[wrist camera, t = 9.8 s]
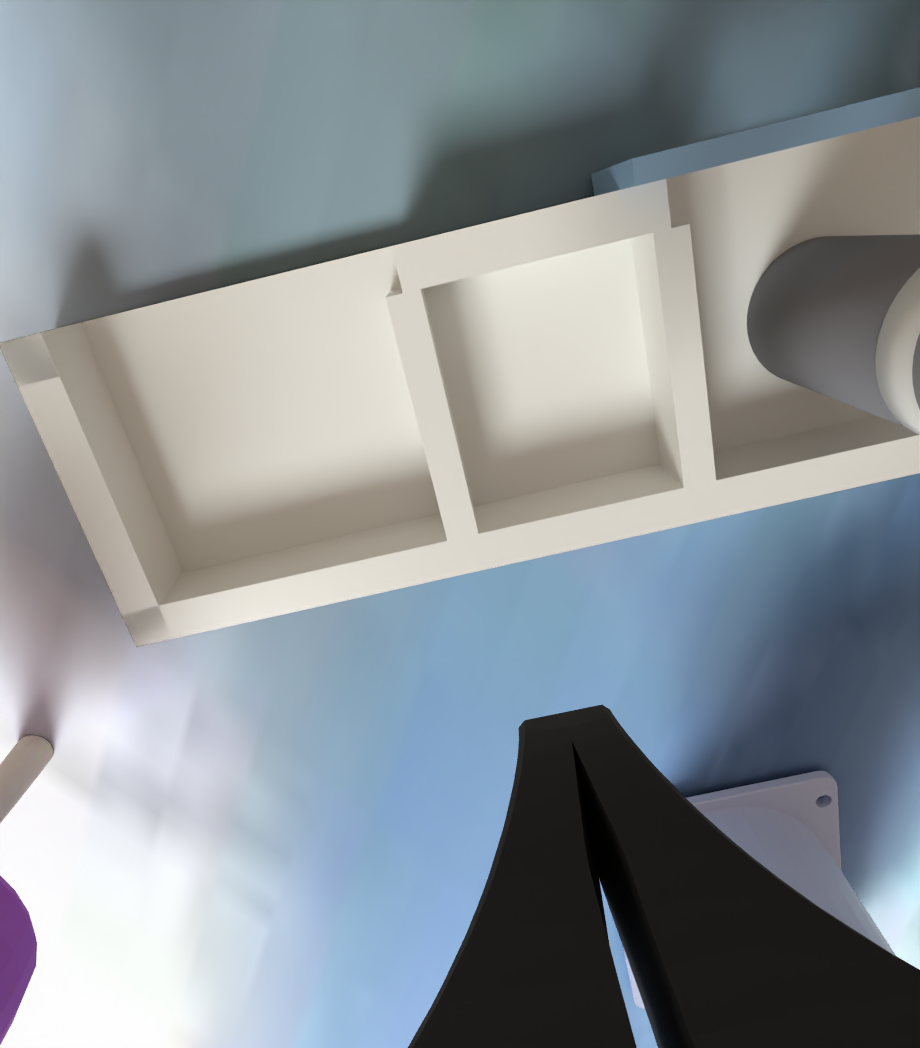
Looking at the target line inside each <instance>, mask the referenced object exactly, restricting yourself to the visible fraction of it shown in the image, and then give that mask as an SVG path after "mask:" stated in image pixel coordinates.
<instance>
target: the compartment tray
mask: <svg viewBox="0 0 920 1048" xmlns="http://www.w3.org/2000/svg"><path fill="white" fill-rule="evenodd" d="M591 177H592V184H593V190H594V196H593V197H589V198H585V199H581V200H576V201H572V202H568V203H564V204H560V205H556V206H552V207H548V208H544V209H540V210H536V211H532V212H528V213H524V214H520V215H516V216H511V217H507V218H503V219H499V220H495V221H491V222H487V223H483V224H479V225H475V226H471V227H467V228H463V229H459V230H455V231H450V232H446V233H442V234H438V235H434V236H430V237H426V238H422V239H418V240H414V241H410V242H406V243H402V244H398V245H394V246H390V247H385V248H381V249H377V250H373V251H369V252H365V253H361V254H357V255H353V256H349V257H345V258H341V259H337V260H333V261H329V262H324V263H320V264H316V265H312V266H308V267H304V268H300V269H296V270H292V271H288V272H284V273H280V274H276V275H272V276H268V277H264V278H259V279H255V280H251V281H247V282H243V283H239V284H235V285H231V286H227V287H223V288H219V289H215V290H211V291H207V292H203V293H198V294H194V295H190V296H186V297H182V298H178V299H174V300H170V301H166V302H162V303H158V304H154V305H150V306H146V307H142V308H138V309H133V310H129V311H125V312H121V313H117V314H113V315H109V316H105V317H101V318H97V319H93V320H89V321H85V322H81V323H77V324H72V325H68V326H64V327H60V328H56V329H52V330H48V331H44V332H40V333H36V334H32V335H28V336H24V337H20V338H16V339H12V340H8V341H4V342H0V349H1V351H2V353H3V355H4V357H5V360H6V362H7V364H8V366H9V368H10V371H11V373H12V375H13V377H14V379H15V382H16V384H17V386H18V388H19V390H20V393H21V395H22V397H23V399H24V401H25V404H26V406H27V408H28V410H29V412H30V415H31V417H32V419H33V421H34V423H35V426H36V428H37V430H38V432H39V434H40V437H41V439H42V441H43V443H44V445H45V448H46V450H47V452H48V454H49V456H50V459H51V461H52V463H53V465H54V467H55V470H56V472H57V474H58V476H59V478H60V481H61V483H62V485H63V487H64V489H65V492H66V494H67V496H68V498H69V500H70V503H71V505H72V507H73V509H74V511H75V514H76V516H77V518H78V520H79V522H80V525H81V527H82V529H83V531H84V533H85V536H86V538H87V540H88V542H89V544H90V547H91V549H92V551H93V553H94V555H95V558H96V560H97V562H98V564H99V566H100V569H101V571H102V573H103V575H104V577H105V579H106V582H107V584H108V586H109V588H110V590H111V593H112V595H113V597H114V599H115V601H116V604H117V606H118V608H119V610H120V612H121V615H122V617H123V619H124V621H125V623H126V626H127V628H128V630H129V632H130V634H131V637H132V639H133V641H134V643H135V645H136V647H138V646H143V645H147V644H152V643H156V642H161V641H165V640H170V639H174V638H179V637H183V636H188V635H192V634H197V633H201V632H206V631H210V630H215V629H219V628H224V627H228V626H233V625H237V624H242V623H246V622H251V621H255V620H260V619H264V618H269V617H273V616H278V615H282V614H287V613H291V612H296V611H300V610H305V609H309V608H314V607H318V606H323V605H327V604H332V603H336V602H341V601H345V600H350V599H354V598H359V597H363V596H368V595H373V594H377V593H382V592H386V591H391V590H395V589H400V588H404V587H409V586H413V585H418V584H422V583H427V582H431V581H436V580H440V579H445V578H449V577H454V576H458V575H463V574H467V573H472V572H476V571H481V570H485V569H490V568H494V567H499V566H503V565H508V564H512V563H517V562H521V561H526V560H530V559H535V558H539V557H544V556H548V555H553V554H557V553H562V552H566V551H571V550H575V549H580V548H584V547H589V546H593V545H598V544H602V543H607V542H611V541H616V540H620V539H625V538H629V537H634V536H638V535H643V534H647V533H652V532H656V531H661V530H665V529H670V528H674V527H679V526H683V525H688V524H692V523H697V522H701V521H706V520H710V519H715V518H719V517H724V516H728V515H733V514H737V513H742V512H746V511H751V510H755V509H760V508H764V507H769V506H773V505H778V504H782V503H787V502H791V501H796V500H801V499H805V498H810V497H814V496H819V495H823V494H828V493H832V492H837V491H841V490H846V489H850V488H855V487H859V486H864V485H868V484H873V483H877V482H882V481H886V480H891V479H895V478H900V477H904V476H909V475H913V474H918V473H920V435H918V434H916V433H914V432H912V431H911V430H909V429H908V428H906V427H905V426H902V425H899V424H897V423H894V422H892V421H889V420H887V419H884V418H881V417H879V416H876V415H874V414H871V413H869V412H866V411H863V410H861V409H858V408H856V407H853V406H850V405H848V404H845V403H843V402H840V401H838V400H835V399H832V398H830V397H827V396H825V395H822V394H819V393H817V392H814V391H812V390H809V389H807V388H804V387H801V386H799V385H796V384H794V383H791V382H788V381H786V380H783V379H781V378H779V377H777V376H775V375H774V374H772V373H770V372H769V371H768V370H767V369H766V368H765V367H763V365H762V364H761V363H760V362H759V361H758V359H757V358H756V356H755V354H754V353H753V350H752V348H751V345H750V342H749V338H748V333H747V313H748V306H749V303H750V299H751V296H752V293H753V291H754V288H755V286H756V284H757V283H758V281H759V279H760V277H761V276H762V274H763V273H764V272H765V270H766V269H767V268H768V267H769V265H770V264H771V263H772V262H773V261H774V260H775V259H776V258H777V257H779V256H780V255H781V254H782V253H784V252H785V251H786V250H788V249H789V248H791V247H793V246H795V245H796V244H798V243H801V242H803V241H806V240H809V239H813V238H816V237H823V236H863V235H915V234H920V87H918V88H914V89H910V90H906V91H902V92H898V93H894V94H890V95H886V96H882V97H878V98H874V99H870V100H866V101H862V102H858V103H854V104H850V105H846V106H842V107H838V108H834V109H830V110H826V111H822V112H818V113H814V114H810V115H806V116H802V117H797V118H793V119H789V120H785V121H781V122H777V123H773V124H769V125H765V126H761V127H757V128H753V129H749V130H745V131H741V132H737V133H733V134H729V135H725V136H721V137H717V138H713V139H709V140H705V141H701V142H697V143H693V144H689V145H685V146H681V147H677V148H672V149H668V150H664V151H660V152H656V153H652V154H648V155H644V156H640V157H636V158H632V159H629V160H627V161H624V162H622V163H619V164H616V165H614V166H611V167H608V168H606V169H603V170H601V171H598V172H595V173H593V174H591Z"/></svg>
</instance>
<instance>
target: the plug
mask: <svg viewBox="0 0 920 1048" xmlns="http://www.w3.org/2000/svg"><path fill="white" fill-rule="evenodd" d="M747 333H748V338H749V342H750V345H751V348H752V350H753V353H754V354H755V356H756V358H757V359H758V361H759V362H760V363H761V364H762V365H763V367H765V368H766V369H767V370H768V371H769V372H770V373H772V374H774V375H775V376H777V377H779V378H781V379H783V380H786V381H788V382H791V383H794V384H796V385H799V386H801V387H804V388H807V389H809V390H812V391H814V392H817V393H819V394H822V395H825V396H827V397H830V398H832V399H835V400H838V401H840V402H843V403H845V404H848V405H850V406H853V407H856V408H858V409H861V410H863V411H866V412H869V413H871V414H874V415H876V416H879V417H881V418H884V419H887V420H889V421H892V422H894V423H897V424H899V425H902V426H905V427H906V428H908V429H909V430H911V431H912V432H914V433H916V434H918V435H920V234H915V235H863V236H823V237H816V238H813V239H809V240H806V241H803V242H801V243H798V244H796V245H795V246H793V247H791V248H789V249H788V250H786V251H785V252H784V253H782V254H781V255H780V256H779V257H777V258H776V259H775V260H774V261H773V262H772V263H771V264H770V265H769V267H768V268H767V269H766V270H765V272H764V273H763V274H762V276H761V277H760V279H759V281H758V283H757V284H756V286H755V288H754V291H753V293H752V296H751V299H750V303H749V306H748V313H747Z"/></svg>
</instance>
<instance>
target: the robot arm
mask: <svg viewBox="0 0 920 1048" xmlns="http://www.w3.org/2000/svg"><path fill="white" fill-rule="evenodd" d="M823 795H824V796H823ZM820 796H823V797H822V798H820V799H818V798H819V797H820ZM599 879H600V882H601V885H602V888H603V891H604V893H605V896H606V899H607V902H608V905H609V908H610V911H611V913H612V916H613V919H614V922H615V925H616V928H617V930H618V933H619V936H620V939H621V942H622V945H623V950H624V955H625V960H626V965H627V970H628V975H629V979H630V984H631V989H632V994H633V998H634V1002H635V1004H636V1005H637V1006H638V1007H640V1008H644V1009H645V1010H646V1012H647V1015H648V1018H649V1021H650V1024H651V1027H652V1030H653V1033H654V1036H655V1039H656V1043H657V1046H658V1048H920V970H919V969H917V968H915V967H914V966H912V965H910V964H908V963H907V962H905V961H903V960H902V959H900V958H898V957H896V955H895V954H894V952H893V951H892V949H891V948H890V946H889V944H888V943H887V941H886V940H885V938H884V937H883V935H882V934H881V932H880V930H879V929H878V927H877V926H876V924H875V923H874V921H873V920H872V918H871V916H870V915H869V913H868V912H867V910H866V909H865V907H864V906H863V904H862V902H861V901H860V899H859V898H858V896H857V895H856V893H855V892H854V890H853V888H852V887H851V885H850V884H849V882H848V881H847V879H846V878H845V876H844V874H843V873H842V871H841V853H840V831H839V809H838V787H837V783H836V781H835V779H834V778H833V777H832V775H831V774H829V773H828V772H826V771H815V772H810V773H805V774H800V775H795V776H790V777H785V778H780V779H775V780H771V781H766V782H761V783H756V784H751V785H746V786H741V787H736V788H731V789H726V790H721V791H716V792H712V793H707V794H702V795H697V796H692V797H687V798H685V797H684V796H683V795H682V794H681V793H680V792H679V791H678V790H677V789H676V788H675V787H674V786H673V784H672V783H671V782H670V781H669V780H668V779H667V778H666V777H665V776H664V775H663V774H662V773H661V772H660V771H659V770H658V769H657V768H656V767H655V766H654V765H653V764H652V762H651V761H650V760H649V759H648V758H647V757H646V756H645V755H644V753H643V752H642V751H641V750H640V749H639V748H638V746H637V745H636V744H635V743H634V742H633V740H632V739H631V738H630V737H629V736H628V734H627V733H626V732H625V730H624V729H623V728H622V727H621V725H620V724H619V722H618V721H617V720H616V718H615V717H614V715H613V714H612V712H611V711H610V709H608V708H606V707H605V706H603V705H598V706H593V707H588V708H583V709H578V710H574V711H569V712H564V713H559V714H554V715H549V716H544V717H539V718H534V719H529V720H525V721H524V722H523V723H522V724H521V726H520V727H519V750H518V759H517V767H516V773H515V779H514V784H513V789H512V793H511V798H510V802H509V807H508V811H507V816H506V820H505V824H504V828H503V831H502V835H501V838H500V841H499V844H498V848H497V851H496V854H495V857H494V861H493V864H492V867H491V871H490V874H489V877H488V879H487V882H486V885H485V888H484V891H483V893H482V896H481V899H480V901H479V904H478V907H477V909H476V911H475V914H474V916H473V919H472V921H471V924H470V926H469V929H468V931H467V933H466V936H465V938H464V940H463V942H462V945H461V947H460V949H459V951H458V953H457V955H456V957H455V960H454V962H453V964H452V966H451V968H450V970H449V973H448V975H447V977H446V979H445V981H444V983H443V985H442V987H441V989H440V991H439V993H438V995H437V997H436V999H435V1000H434V1002H433V1004H432V1006H431V1008H430V1010H429V1012H428V1013H427V1015H426V1017H425V1019H424V1020H423V1022H422V1024H421V1026H420V1027H419V1029H418V1031H417V1033H416V1034H415V1036H414V1038H413V1040H412V1041H411V1043H410V1045H409V1047H408V1048H636V1044H635V1040H634V1037H633V1033H632V1029H631V1025H630V1022H629V1018H628V1014H627V1010H626V1007H625V1003H624V999H623V996H622V992H621V988H620V984H619V981H618V977H617V973H616V969H615V965H614V962H613V958H612V954H611V950H610V946H609V940H608V933H607V927H606V920H605V914H604V907H603V901H602V894H601V888H600V882H599Z"/></svg>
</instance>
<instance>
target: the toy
mask: <svg viewBox="0 0 920 1048" xmlns="http://www.w3.org/2000/svg"><path fill="white" fill-rule="evenodd" d="M52 756H53V748H52V746H51V744H50V743H49V742H48V741H47V740H46V739H44V738H42V737H39V736H35V735H29V736H25V737H23V738H21V739H20V740H19V741H18V743H17V744H16V745H15V746H14V748H13V749H12V750H11V752H10V753H9V754H8V755H7V757H6V758H5V759H4V761H3V762H2V763H1V765H0V823H1V822H2V820H3V819H4V818H5V817H6V815H7V814H8V813H9V812H10V810H11V809H12V808H13V807H14V805H15V804H16V803H17V802H18V800H19V799H20V798H21V797H22V795H23V794H24V793H25V792H26V790H27V789H28V788H29V787H30V785H31V784H32V783H33V781H34V780H35V779H36V778H37V776H38V775H39V774H40V773H41V771H42V770H43V769H44V767H45V766H46V765H47V763H48V762H49V761H50V759H51V758H52ZM36 951H37V942H36V937H35V933H34V929H33V926H32V922H31V919H30V916H29V912H28V911H27V909H26V907H25V906H24V904H23V903H22V901H21V899H20V898H19V896H18V895H17V893H16V891H15V890H14V889H13V888H12V887H11V886H10V885H9V884H8V883H7V882H6V881H5V880H4V879H3V878H2V877H1V876H0V1044H1V1042H2V1041H3V1039H4V1037H5V1035H6V1033H7V1031H8V1030H9V1028H10V1026H11V1024H12V1022H13V1020H14V1017H15V1015H16V1012H17V1010H18V1008H19V1005H20V1003H21V1000H22V998H23V996H24V993H25V991H26V988H27V986H28V984H29V981H30V979H31V976H32V974H33V971H34V969H35V966H36Z"/></svg>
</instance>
